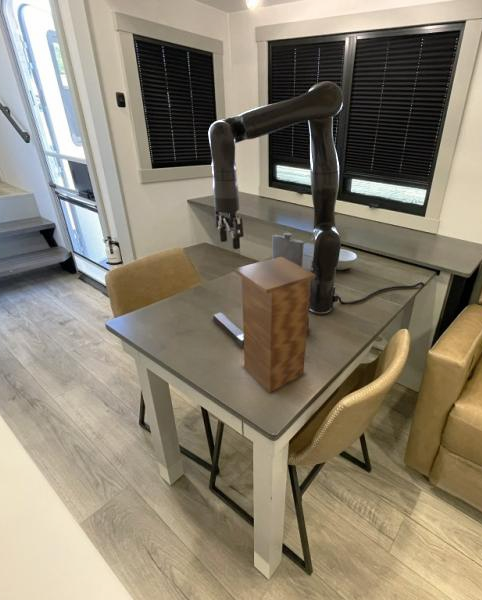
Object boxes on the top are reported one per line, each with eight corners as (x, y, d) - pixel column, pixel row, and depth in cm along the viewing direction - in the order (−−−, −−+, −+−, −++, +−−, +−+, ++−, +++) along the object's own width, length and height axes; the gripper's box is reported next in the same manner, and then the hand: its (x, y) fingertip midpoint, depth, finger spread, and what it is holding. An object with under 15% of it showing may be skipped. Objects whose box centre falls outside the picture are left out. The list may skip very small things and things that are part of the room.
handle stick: (222, 317, 121) (221, 309, 119) (252, 344, 108) (252, 336, 106) (212, 320, 118) (211, 313, 117) (241, 348, 105) (241, 340, 104)
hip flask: (302, 276, 156) (305, 235, 146) (298, 279, 152) (301, 238, 143) (274, 268, 162) (275, 228, 152) (269, 271, 159) (270, 230, 149)
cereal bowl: (356, 275, 161) (359, 261, 158) (323, 272, 161) (324, 259, 158) (352, 261, 176) (354, 249, 173) (321, 259, 176) (323, 247, 172)
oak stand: (278, 348, 107) (281, 256, 91) (307, 372, 98) (315, 274, 82) (238, 367, 98) (233, 268, 82) (265, 395, 89) (266, 290, 73)
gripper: (248, 197, 99) (251, 249, 107) (225, 189, 108) (229, 237, 116) (226, 200, 94) (230, 253, 102) (204, 191, 104) (209, 241, 112)
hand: (229, 244), depth 109 cm, fingers open, 8 cm apart
